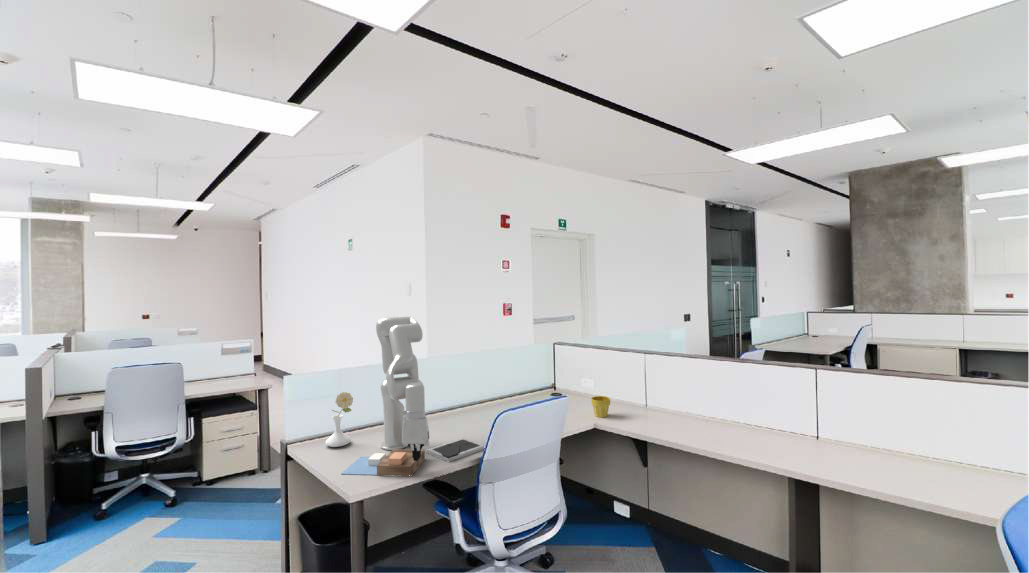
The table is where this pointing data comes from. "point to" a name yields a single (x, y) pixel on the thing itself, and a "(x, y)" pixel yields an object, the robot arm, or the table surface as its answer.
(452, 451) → the picture frame
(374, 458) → the white rectangular block
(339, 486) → the table surface
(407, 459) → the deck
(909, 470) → the table surface
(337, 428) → the flower in vase
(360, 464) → the mat
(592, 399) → the plant pot
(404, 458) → the orange rectangular block
